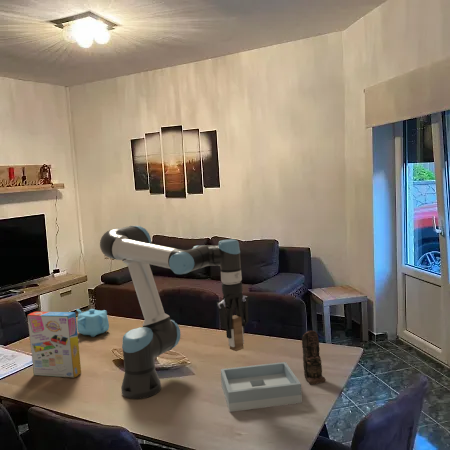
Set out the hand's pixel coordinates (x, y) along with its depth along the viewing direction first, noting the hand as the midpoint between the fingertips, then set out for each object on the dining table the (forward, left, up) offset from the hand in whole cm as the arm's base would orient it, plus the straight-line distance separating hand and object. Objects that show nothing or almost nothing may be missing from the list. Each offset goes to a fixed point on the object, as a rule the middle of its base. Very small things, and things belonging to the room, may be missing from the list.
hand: (236, 344), depth 168 cm
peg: (0, 0, -2) cm, 2 cm away
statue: (+30, +5, -20) cm, 37 cm away
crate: (+7, -1, -19) cm, 21 cm away
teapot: (-67, +92, -20) cm, 115 cm away
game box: (-74, +39, -20) cm, 85 cm away
